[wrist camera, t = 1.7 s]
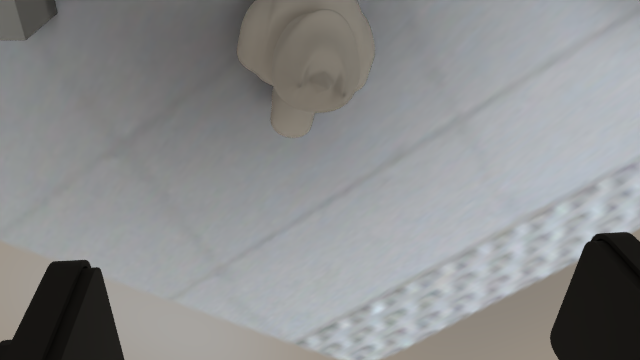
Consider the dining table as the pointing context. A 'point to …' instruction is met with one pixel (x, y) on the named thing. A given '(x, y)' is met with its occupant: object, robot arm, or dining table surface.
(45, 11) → the tray
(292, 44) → the beige rounded piece
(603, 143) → the dining table surface
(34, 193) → the dining table surface
